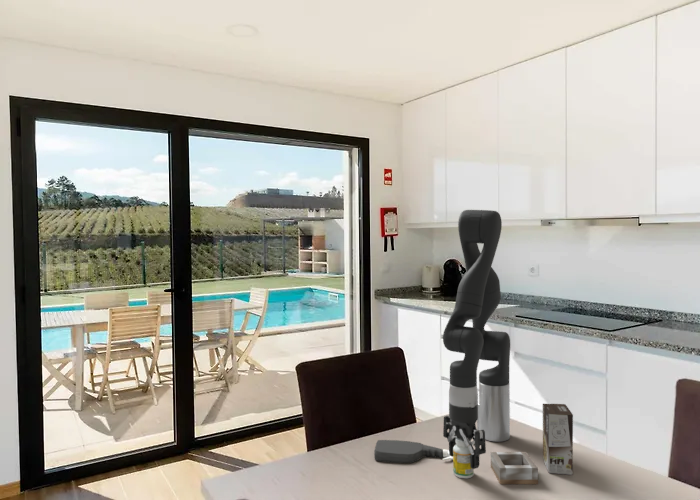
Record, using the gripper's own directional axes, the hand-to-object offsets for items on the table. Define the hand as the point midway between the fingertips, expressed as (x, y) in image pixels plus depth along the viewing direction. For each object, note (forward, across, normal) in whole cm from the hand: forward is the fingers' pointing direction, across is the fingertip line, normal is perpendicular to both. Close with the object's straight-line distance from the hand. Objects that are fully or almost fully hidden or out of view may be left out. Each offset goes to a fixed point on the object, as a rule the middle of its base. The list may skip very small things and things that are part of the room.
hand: (463, 461), depth 137 cm
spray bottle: (+4, -16, -4) cm, 17 cm away
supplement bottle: (+4, 0, 0) cm, 4 cm away
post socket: (+4, +7, +11) cm, 13 cm away
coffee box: (+4, +9, +25) cm, 27 cm away
